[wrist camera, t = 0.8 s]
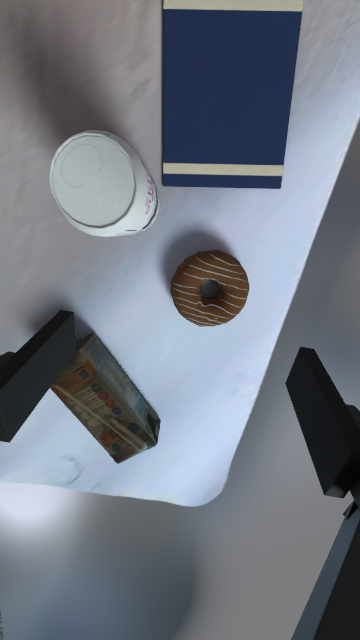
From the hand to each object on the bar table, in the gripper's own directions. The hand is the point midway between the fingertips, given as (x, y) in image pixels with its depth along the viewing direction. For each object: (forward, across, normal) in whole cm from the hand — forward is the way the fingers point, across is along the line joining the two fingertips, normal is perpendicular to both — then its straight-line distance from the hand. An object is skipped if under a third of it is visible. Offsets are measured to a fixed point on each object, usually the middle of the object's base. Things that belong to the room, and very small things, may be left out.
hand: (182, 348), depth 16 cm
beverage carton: (+20, -11, -24) cm, 32 cm away
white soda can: (+25, -10, +4) cm, 27 cm away
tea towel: (+28, +1, +17) cm, 33 cm away
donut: (+24, +2, -6) cm, 25 cm away
